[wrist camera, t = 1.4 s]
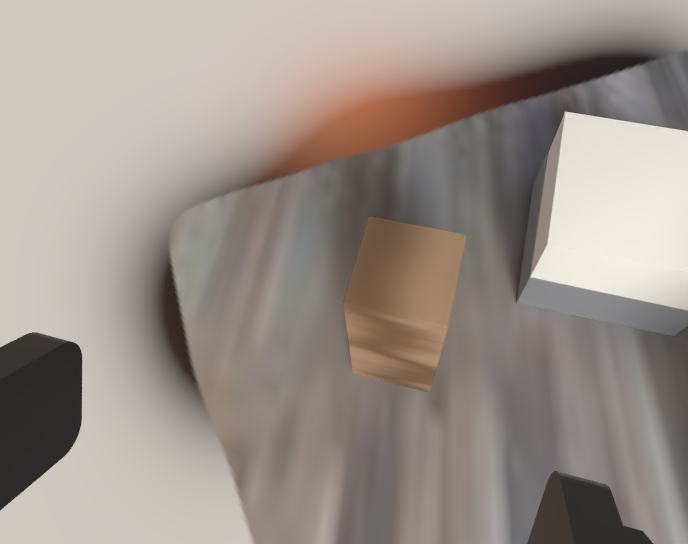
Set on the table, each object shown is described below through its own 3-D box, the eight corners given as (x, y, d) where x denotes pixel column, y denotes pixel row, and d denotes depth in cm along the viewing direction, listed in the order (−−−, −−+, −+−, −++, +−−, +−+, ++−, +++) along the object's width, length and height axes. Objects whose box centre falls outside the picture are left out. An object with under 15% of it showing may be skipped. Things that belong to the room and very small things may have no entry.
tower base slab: (672, 212, 41) (700, 179, 37) (671, 338, 37) (703, 313, 33) (532, 187, 43) (545, 153, 39) (515, 304, 38) (529, 278, 35)
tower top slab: (702, 179, 37) (736, 139, 34) (703, 313, 33) (742, 283, 29) (548, 152, 39) (565, 111, 36) (530, 277, 35) (547, 244, 31)
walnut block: (444, 321, 38) (466, 235, 28) (429, 392, 35) (448, 325, 26) (371, 304, 38) (369, 215, 29) (352, 373, 36) (343, 302, 27)
